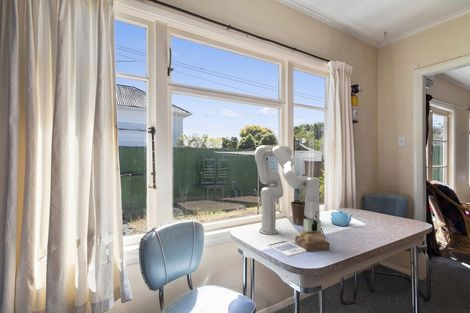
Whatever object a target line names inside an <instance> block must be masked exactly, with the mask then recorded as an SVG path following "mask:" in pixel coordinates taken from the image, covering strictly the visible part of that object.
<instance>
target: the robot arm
mask: <svg viewBox="0 0 470 313" xmlns="http://www.w3.org/2000/svg"><path fill="white" fill-rule="evenodd" d="M254 151H255V152H254V160H255V163H256V165H257V166H256V167H257V171H258V175H259V181H260V183H261V184H263V185H267V186H264V187H262V188H261V190H260V197H261V198H260V200H261V227H260V228H259V232H260V234H264V235H276V234H278V233H279V230H278V229H276V225H277V224H276V222H277V221H276V219H277V218H276V216H277V213H276V210H277V208H276V205H277V204H276V202H275V200H278V199H281V198H282V197H283V196H284V187H283V183H282V178H281V175H280V173H279V172H278V171H277V170H275V169H274V170H271V166H270V162H269V161H268V160H267V158H274V159H275V160H276V161H277V163H278V164H279V165H280V167H281V168H282V175H283V179H285V181H286V183H287V185H289V187H290V188H291V189H293V190H301V189H302V190H303V189H305V201H304V202H305V210H304V215H305V216H306V218H307V219H312V223H313V224H312V231H317V224H318V222H319V221H321V219H320V217H321V216H320V213H321V212H320V178H318V177H315V176H314V177H313V176H312V177H310V176H306V175H299V176H298V175H296V174H295V173H294V171H293V169H292V168H293V166H294V165H295V161H294V159H293V158H292V154H293V150H292V149H291V147H290V146H287V145H269V144H267V145H265V144H264V145H263V144H261V145H259V146H258V147H257V148H256V149H255V150H254ZM314 220H315V221H314Z"/></svg>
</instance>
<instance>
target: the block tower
mask: <svg viewBox="0 0 470 313" xmlns="http://www.w3.org/2000/svg"><path fill="white" fill-rule="evenodd" d="M324 236H325V234H323V233H322V232H321V233H320V232H319V231H312V232H308V231H306V230H304V229H302V230H301V229H300V230H299V235H295V237H294V238H295V241H294V242H295V243H294V244H295V245H297V246H299V247H301V248H304V249H305V250H306V252H319V251H330V242H329V241H327V240H326V239H325V237H324Z"/></svg>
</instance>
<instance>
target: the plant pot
mask: <svg viewBox="0 0 470 313" xmlns="http://www.w3.org/2000/svg"><path fill="white" fill-rule="evenodd" d="M290 205H291V206H290V207H291V211H292V212H291V213H292V223H293V224H294V225H296V226H302V227H303V223H304V219H307V218H306V216H305V215H304V210H305V201H302V200H301V201H300V200H295V201H291V202H290Z"/></svg>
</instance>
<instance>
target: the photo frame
mask: <svg viewBox="0 0 470 313" xmlns="http://www.w3.org/2000/svg"><path fill="white" fill-rule="evenodd" d="M282 242H286V243H287V244H290V245H292V246H294V247H295V248H290V249H288V250H283V251H281V250H279V249H278V248H275V247H274V246H272V245H275V244H279V243H282ZM266 246H267V247H269V248H270V249H273V250H274V251H277V252H279V253H280V254H282V255H283V256H286V257H290V256H294V255H298V254H302V253H305V252H307V251H306V250H305V249H304V248H301V247H300V246H299V245H298V244H296V243H292V242H290V241H289V240H281V241H277V242H271V243H268V244H266Z"/></svg>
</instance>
